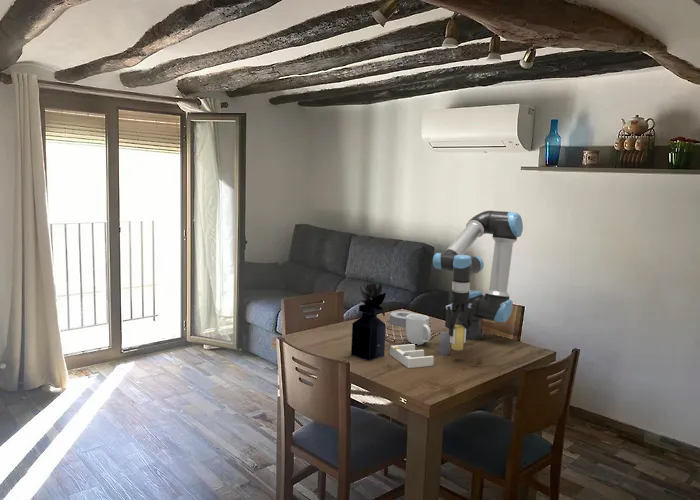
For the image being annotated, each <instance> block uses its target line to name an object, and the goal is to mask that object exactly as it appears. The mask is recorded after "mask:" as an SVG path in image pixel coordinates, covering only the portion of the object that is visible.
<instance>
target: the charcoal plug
mask: <svg viewBox="0 0 700 500" xmlns="http://www.w3.org/2000/svg"><path fill="white" fill-rule="evenodd" d="M450 351H451V343H450V336H449V330H441V331H439V338H438V354H439V355H440V356H449V355H450V354H451V352H450Z"/></svg>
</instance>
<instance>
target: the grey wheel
mask: <svg viewBox="0 0 700 500" xmlns="http://www.w3.org/2000/svg"><path fill="white" fill-rule="evenodd" d="M410 314H416V313H414V312H412V311H404V310H403V311H401V310H398V311H397V310H396V311H392V312H390V314H389V324H390V325H392V326H395V327H398V328H400V327H401V328H406V316H407V315H410Z"/></svg>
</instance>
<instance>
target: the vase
mask: <svg viewBox="0 0 700 500" xmlns="http://www.w3.org/2000/svg"><path fill="white" fill-rule="evenodd" d="M365 279H366V282H368V283H367V284H363V286H364V287H363V288H364V290H365V291H364V290H363V288H362V286H361V285H360V287H359V292H360V294H361V297H362V298H363V299H362V300H361V299H359V301H360V302H361V303H363V304H360V305H358V311H359V312H360V313H362V315H361V316H360V317H359V318H358V319H356V320H355V321H353V322H352V324H351V329H352V330H351V349H350V351H351V352H350V355H351V356H352V357H356V358H359V359H362V360H365V361H367V362H371V361H374V360H377V359H380V358H382V357H385V348H386V347H385V346H386V328H387V326H386V325H387V324H386V323H385V322H384V321H382V320H381V319H380V318H379V317H378V316H377V315H378V313H380V314H382V316H383V317H385V315H386V312H385V311H386V310H385V309H384V307H383V305H382V304H383V302H384V300H385V298H386V296H387V292H384V293H382V292H383V284H382V282H381V281H379V283H378V286H377V283H375V280H374V279H373V277H371V278H370V279H371V280H372V281H373V283H372V281H371V280H369V278H368V277H366V278H365Z"/></svg>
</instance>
